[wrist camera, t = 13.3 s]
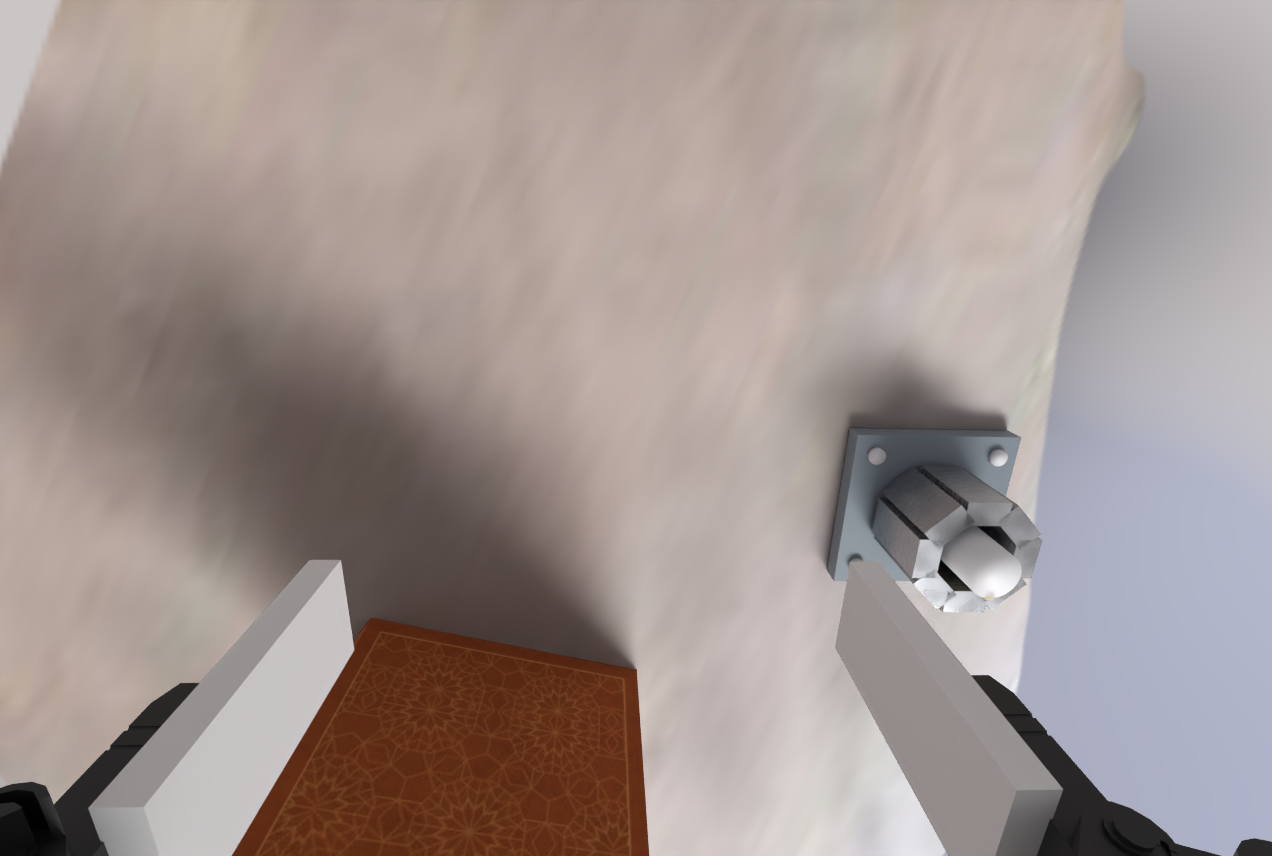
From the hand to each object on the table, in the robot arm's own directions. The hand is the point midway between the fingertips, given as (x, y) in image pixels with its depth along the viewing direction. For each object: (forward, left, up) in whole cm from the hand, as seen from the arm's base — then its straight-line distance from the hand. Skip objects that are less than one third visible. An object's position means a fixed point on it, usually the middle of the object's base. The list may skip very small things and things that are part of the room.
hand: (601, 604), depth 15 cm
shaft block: (+10, +24, -27) cm, 37 cm away
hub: (+10, +24, -25) cm, 36 cm away
